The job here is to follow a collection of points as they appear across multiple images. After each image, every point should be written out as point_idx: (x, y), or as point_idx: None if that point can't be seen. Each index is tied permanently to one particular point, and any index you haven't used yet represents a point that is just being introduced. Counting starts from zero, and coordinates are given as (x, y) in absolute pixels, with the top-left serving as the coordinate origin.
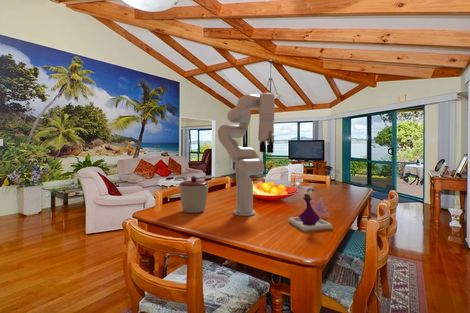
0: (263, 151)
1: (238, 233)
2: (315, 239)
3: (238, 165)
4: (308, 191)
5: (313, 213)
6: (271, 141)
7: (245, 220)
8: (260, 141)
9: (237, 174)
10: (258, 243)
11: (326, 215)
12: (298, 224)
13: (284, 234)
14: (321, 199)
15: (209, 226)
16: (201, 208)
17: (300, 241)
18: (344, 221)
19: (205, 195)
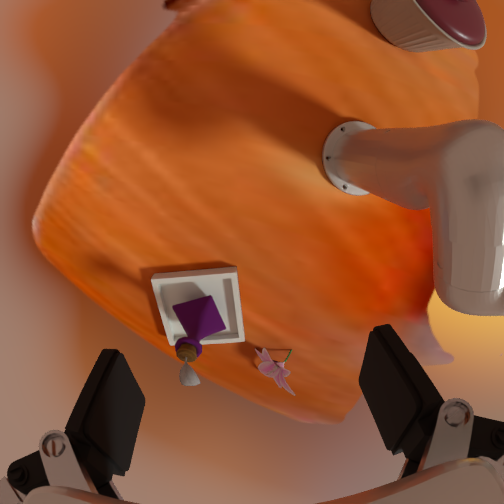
0: (365, 366)
1: (160, 96)
2: (109, 276)
3: (465, 125)
4: (183, 367)
5: (186, 331)
6: (27, 466)
7: (278, 137)
8: (448, 451)
9: (437, 125)
10: (92, 141)
11: (260, 367)
12: (178, 276)
13: (138, 219)
14: (290, 392)
15: (237, 27)
16: (381, 28)
17: (97, 240)
18: (223, 380)
19: (412, 30)
